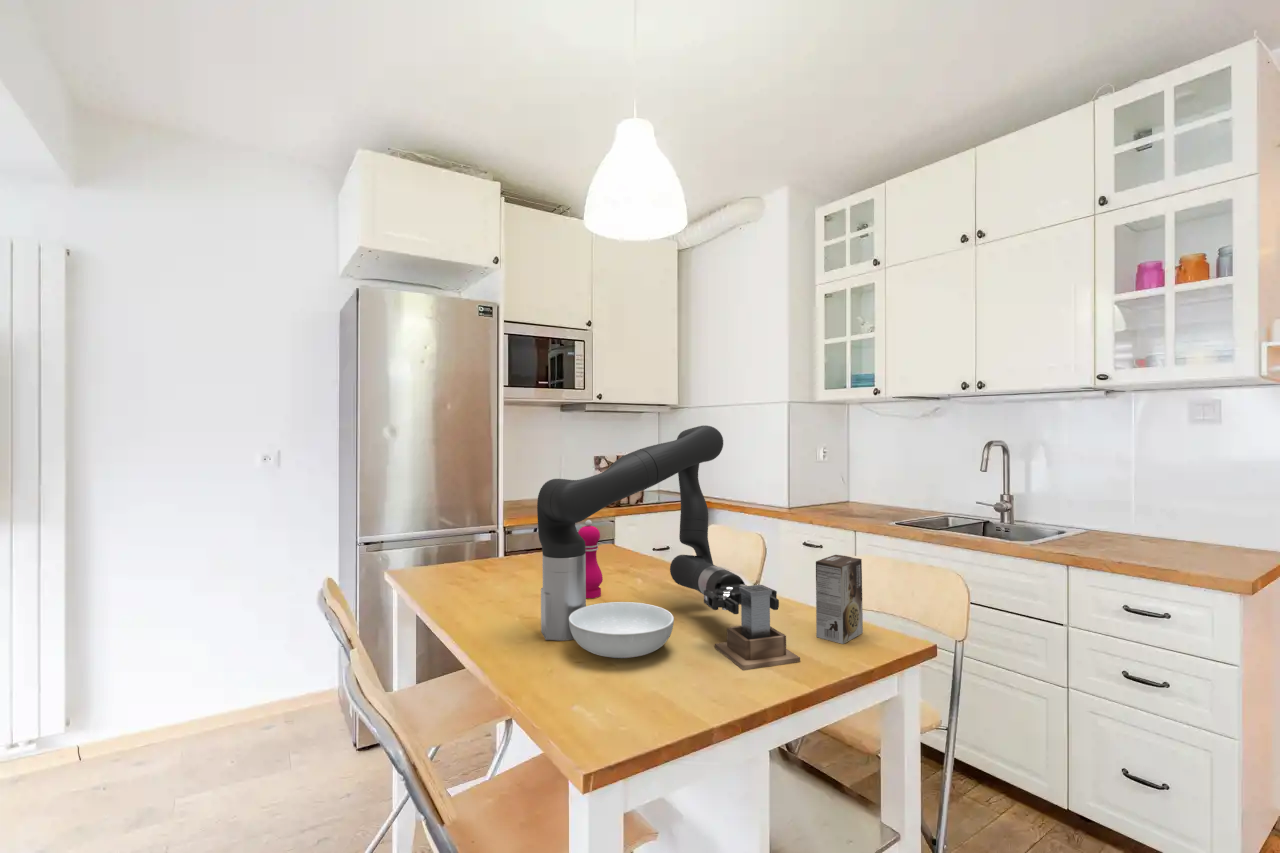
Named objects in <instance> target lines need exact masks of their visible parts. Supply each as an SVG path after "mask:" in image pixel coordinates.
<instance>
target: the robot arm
mask: <svg viewBox="0 0 1280 853" xmlns="http://www.w3.org/2000/svg"><path fill="white" fill-rule="evenodd" d="M723 448H724V437H723V435H722V433H721V431H720V430H719V429H718V428H715V427H713V426H710V425H698V426H695V427H691V428H688V429H685V430H683V431H680V433H679V434H678V435H677V437H676V439H675V440H671V441H666V442H663V443H657V444H653V445H650V446H645V447H643V448H640V449H637V450H635V451H632V452H630V453H626V454H625V455H623V456H620V457H619V458H617V459H616V460H615V461H614V462H613V463H612V464H611V465H610V466H609V467H608V468H607V469H606V470H604V471H602V472H600V473H598V474H597V473H596V474H595V475H592V476H589V477H584V478H581V479H580V478H579V479H565V478H553V479H549V480H547V481H546V482H545V483H543V485H542V486H541V487H540V489H539V492H538V496H537V504H536V506H537V507H536V514H537V516H536V517H537V531H538V534H537V535H538V540H539V543H540V544H541V551H542V554H541V555H542V587H541V589H540V632H541V634H542V636H543V638H544V640H545V641H559V642H560V641H571V640H575V639H574V637H573V636H572V633H571V630H570V625H569V616H570V615H571V613H573V612H574V611H576V610H578V609H580V608H583V607H586V606H587V599H586V555H585V553H586V547H585V541H584V539H583V538H582V537H581V536H580V535H579V533H578V530H577V528H576V524H577V523H581V522H582V521H584V520H587V519H588V518H589V517H591V516H593V515H594V514H596V513H597V512H599V511H601V510H602V509H604V508H606V507H607V506H609V505H612V504H613V503H615V502H619V501H621V500H623V499H625V498H628V497H631V496H633V495H634V494H637V493H639V492H643V491H645V490H647V489H649V488H651V487H654V486H656V485H658V484H659V483H661V482H663V481H666V480H667V479H669V478H671V477H673V476H675V475H676V474H677V476H678V485H679V486H678V487H679V495H680V496H679V497H680V515H679V516H680V517H679V518H680V519H679V542H680V543H681V544H682V545H684V546H687V547H690V548H693V550H694V552H695V555H693V554H692V555H691V554H690V555H689V554H679V555H676V556H675V557H673V559H672V561H671V562H670V565H669V566H670V567H669V574H670V576H671V578H672V580H673V581H674V583H676V584H677V585H679V586H682V587H684V588H687V589H692V590H695V591H698V592H699V593H700V594H702V595H703V603H704V604H705V605H706V606H707V607H708V608H710V609H711V610H714V611H718V610H719V608H721V610H723V611H728V612H729V613H732V614H733V615H738V614H739V611H740V609H739V608H740V607H739V606H741V592H740V591H739V587H742V586H748V585H747V584H746V583H745V582H744V580H743V578H741V577H740V576H739V575H737V574H736V573H734V572H731V571H730V570H728V569H726V568H723V567H719V566H717V565H715V564H714V561H713V558H712V554H711V553H712V552H711V548H710V542H709V509H708V505H707V502H706V498H705V497H704V494H703V492H702V488H701V485H700V482H699V471H700V470H699V469H700V464H702V463H706V462H707V463H708V462H710V461H714V460H715V459H717V457H719V455H720V454H721V453H722V450H723ZM760 585H761V586H763V587H766V588H768V589H770V590H772V595H770V610H773V611H777V610H778V609H779V608H780V600H779V599H778V598H777V593H778V591H777V590H775V589H772V588H770V587H767V586H766V585H763V584H760Z"/></svg>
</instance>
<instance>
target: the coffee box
mask: <svg viewBox="0 0 1280 853" xmlns="http://www.w3.org/2000/svg"><path fill="white" fill-rule="evenodd" d="M862 560H863V559H862V558H856V557H853V556H847V555H842V554H833V555H831V556H827V557H824V558H822V559H818V560H815V595H816V596H815V600H816V601H815V610H816V611H815V612H816V613H815V616H816V618H815V619H816V624H815V626H816V633H815V634H816V635H815V636H816V638H819V639H822V640H827V641H830V642H834V643H838V644H841V645H844V644H846V643H848V642H850V641H851V640H853V639H855V638H856V637H858V636H860V635H863V633H864V627H863V626H864V624H863V622H864V621H863V618H864V617H863V614H864V613H863V570H862V569H863V568H862V567H863V566H862V563H863V562H862Z"/></svg>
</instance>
